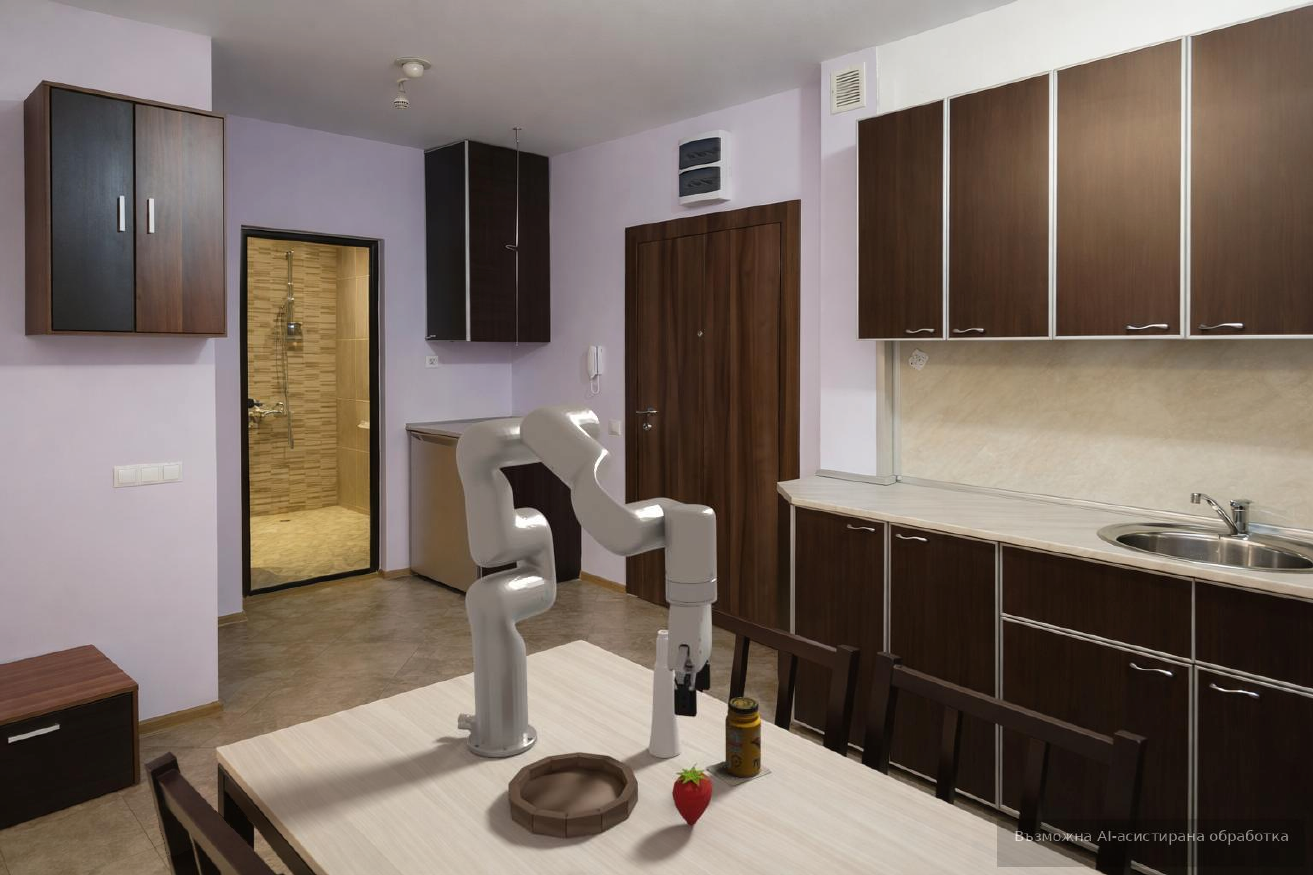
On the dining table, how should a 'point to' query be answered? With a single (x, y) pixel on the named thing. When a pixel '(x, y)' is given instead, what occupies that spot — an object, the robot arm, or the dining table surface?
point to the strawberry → (692, 794)
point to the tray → (572, 794)
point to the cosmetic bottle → (664, 705)
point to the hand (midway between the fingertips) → (693, 701)
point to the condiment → (741, 743)
